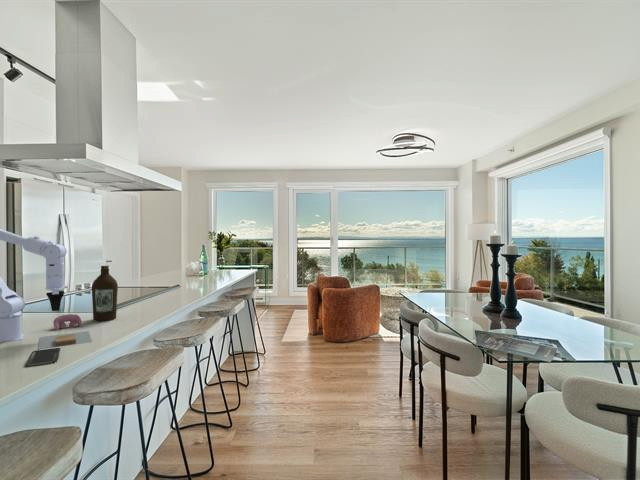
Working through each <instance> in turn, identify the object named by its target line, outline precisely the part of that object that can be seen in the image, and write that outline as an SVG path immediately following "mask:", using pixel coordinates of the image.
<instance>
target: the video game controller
mask: <svg viewBox="0 0 640 480" xmlns="http://www.w3.org/2000/svg"><path fill="white" fill-rule="evenodd" d="M67 322H68V327H69V328H73V327H75V326H76V324H77V326H78V327H79V328H82V327H83V322H82V319H81V317H80V315H78V314H74V313H72V314H71V313H69V314H67V313H66V314H63V315H58V316H57V317H56V318H55V319H53V329H54V331H59V329H65V328H66V327H67Z"/></svg>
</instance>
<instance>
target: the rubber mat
mask: <svg viewBox="0 0 640 480" xmlns="http://www.w3.org/2000/svg"><path fill="white" fill-rule="evenodd" d="M73 334H75V337H76V343H75V344H68V345H61V346H56V343H55V337H57V336H65V335H73ZM92 342H93V340H92V337H91V335H90V331H89V330H87V331H79V332H71V333H69V332H68V333H61V334H55V335H47V336H39V337H38V345H37V350H45V349H53V348H60V347H68V346H73V345H80V344H81V345H82V344H86V343H92Z"/></svg>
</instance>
